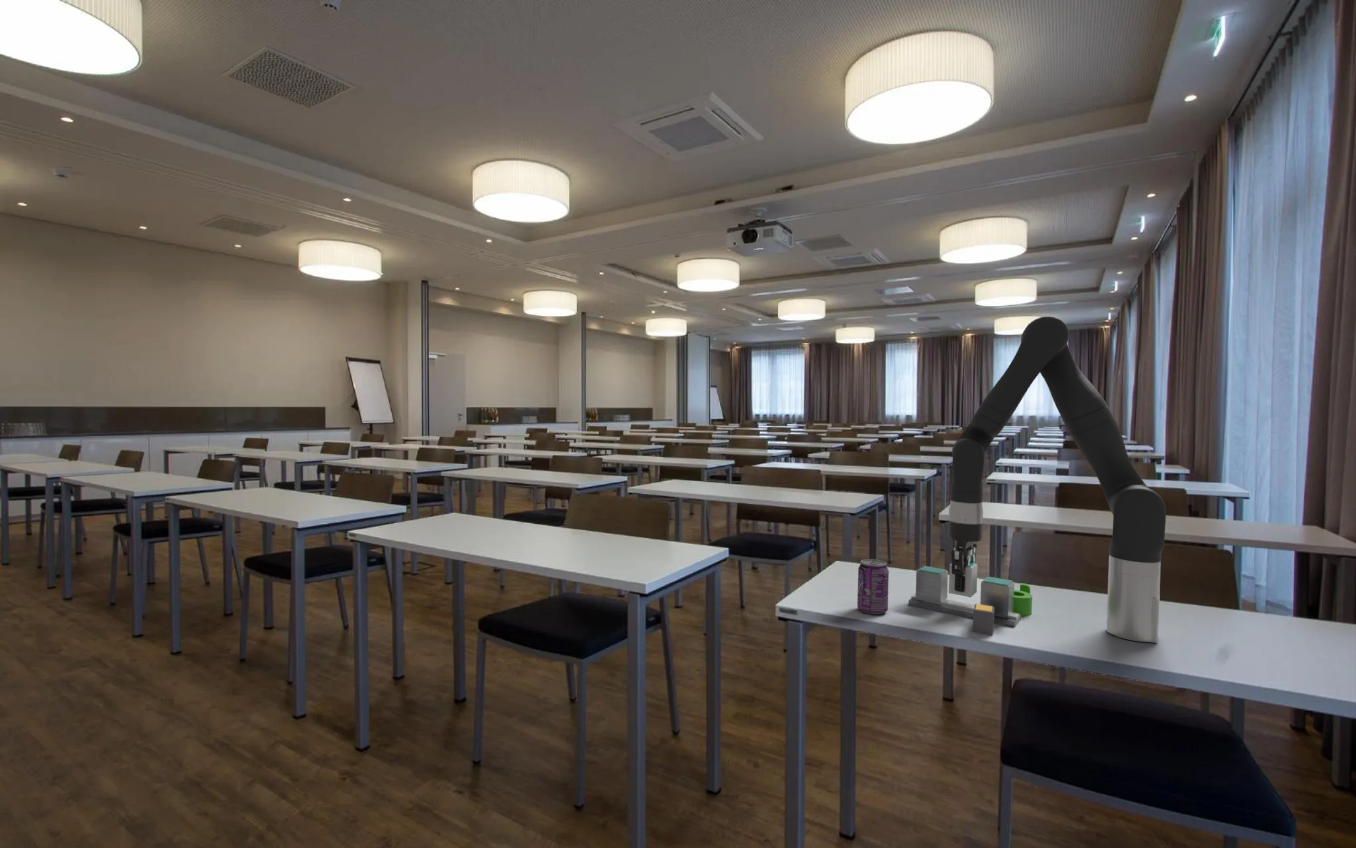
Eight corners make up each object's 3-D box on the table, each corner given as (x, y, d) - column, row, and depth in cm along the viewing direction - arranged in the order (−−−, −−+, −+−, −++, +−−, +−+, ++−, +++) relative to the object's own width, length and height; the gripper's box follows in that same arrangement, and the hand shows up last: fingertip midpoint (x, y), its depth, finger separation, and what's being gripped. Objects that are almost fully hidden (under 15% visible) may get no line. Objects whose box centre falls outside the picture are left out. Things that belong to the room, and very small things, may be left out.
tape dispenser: (1031, 619, 149) (1032, 599, 149) (998, 613, 152) (998, 594, 152) (1031, 602, 162) (1031, 584, 162) (1000, 597, 166) (1000, 580, 165)
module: (976, 592, 153) (977, 562, 153) (970, 597, 149) (971, 566, 148) (955, 588, 156) (956, 559, 156) (948, 592, 152) (949, 563, 152)
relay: (993, 628, 141) (994, 606, 141) (992, 635, 137) (993, 612, 137) (974, 625, 143) (974, 603, 143) (972, 632, 139) (973, 609, 139)
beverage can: (862, 604, 157) (864, 557, 156) (891, 610, 153) (892, 561, 152) (853, 611, 151) (854, 562, 151) (882, 618, 147) (883, 567, 147)
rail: (1020, 619, 148) (1022, 581, 147) (1014, 627, 142) (1015, 587, 142) (917, 598, 163) (918, 563, 162) (908, 604, 157) (909, 568, 157)
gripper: (974, 526, 144) (971, 598, 144) (989, 518, 155) (987, 585, 156) (940, 521, 149) (938, 591, 149) (957, 514, 160) (955, 579, 160)
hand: (963, 588), depth 152 cm, fingers closed on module, 5 cm apart
